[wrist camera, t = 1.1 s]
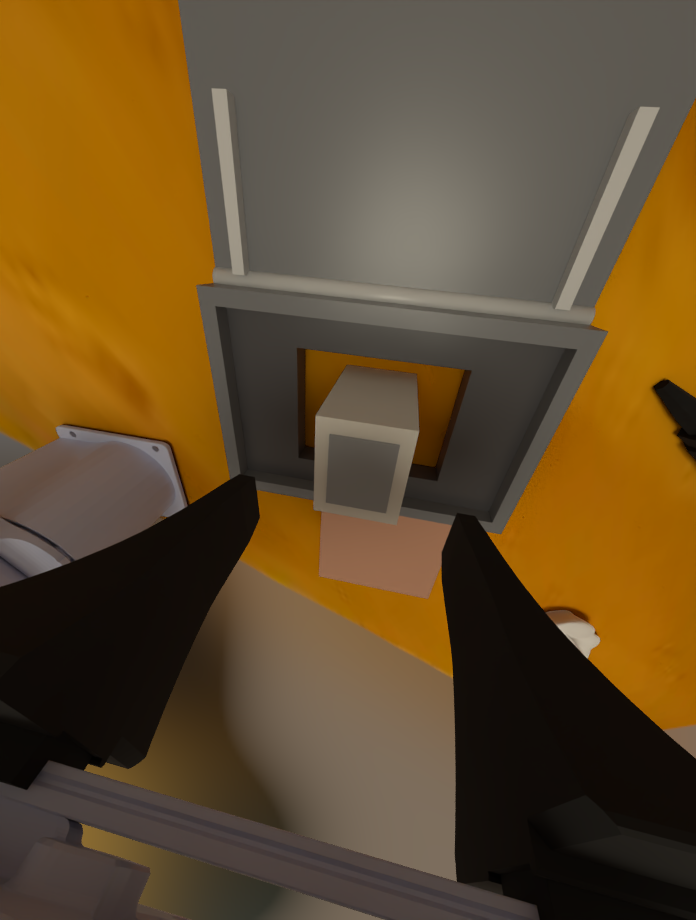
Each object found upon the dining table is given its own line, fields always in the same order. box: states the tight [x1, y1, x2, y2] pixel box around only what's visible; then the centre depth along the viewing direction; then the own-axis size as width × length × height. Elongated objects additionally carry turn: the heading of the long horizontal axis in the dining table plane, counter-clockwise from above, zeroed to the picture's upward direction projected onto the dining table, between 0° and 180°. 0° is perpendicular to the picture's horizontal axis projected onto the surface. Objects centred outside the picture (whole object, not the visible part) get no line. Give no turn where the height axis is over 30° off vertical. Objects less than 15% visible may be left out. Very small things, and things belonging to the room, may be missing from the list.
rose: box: [545, 610, 600, 659], centre depth 26 cm, size 10×4×10 cm
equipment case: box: [178, 0, 696, 534], centre depth 14 cm, size 18×25×2 cm
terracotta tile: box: [319, 512, 452, 599], centre depth 25 cm, size 10×10×1 cm
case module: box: [314, 365, 419, 525], centre depth 16 cm, size 4×5×7 cm
